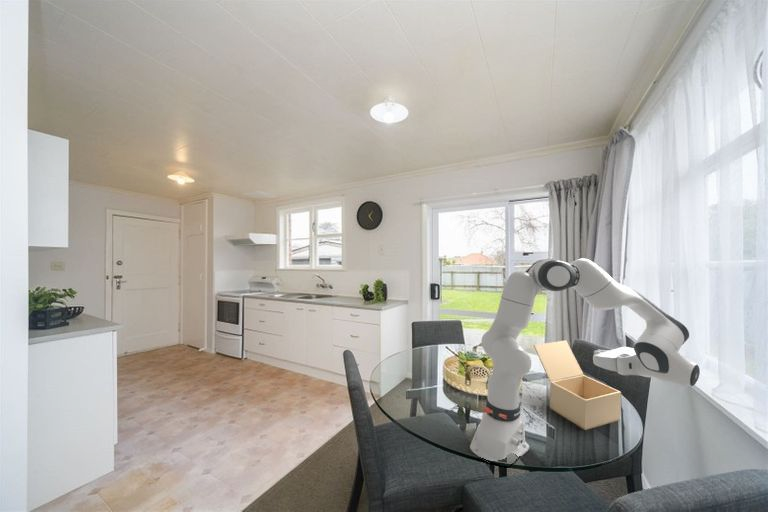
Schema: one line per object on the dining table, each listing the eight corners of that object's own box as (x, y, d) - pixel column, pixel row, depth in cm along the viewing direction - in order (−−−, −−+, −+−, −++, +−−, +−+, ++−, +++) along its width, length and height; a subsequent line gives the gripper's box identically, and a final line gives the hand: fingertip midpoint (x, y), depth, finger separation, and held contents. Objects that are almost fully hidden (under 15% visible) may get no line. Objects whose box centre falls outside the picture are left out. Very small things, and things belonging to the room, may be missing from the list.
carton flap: (566, 340, 143) (565, 340, 144) (534, 345, 137) (533, 345, 137) (583, 374, 135) (582, 374, 136) (550, 381, 129) (549, 381, 129)
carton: (619, 420, 121) (621, 391, 120) (584, 430, 114) (585, 400, 114) (582, 400, 136) (583, 374, 135) (549, 408, 130) (550, 381, 129)
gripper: (651, 347, 110) (611, 339, 122) (618, 358, 102) (578, 348, 114) (653, 364, 109) (612, 355, 122) (620, 376, 102) (580, 364, 114)
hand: (596, 352), depth 118 cm, fingers closed
